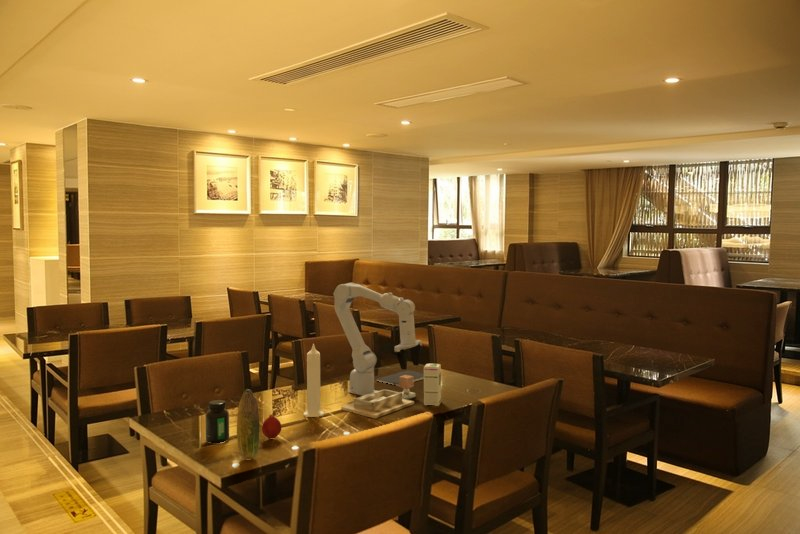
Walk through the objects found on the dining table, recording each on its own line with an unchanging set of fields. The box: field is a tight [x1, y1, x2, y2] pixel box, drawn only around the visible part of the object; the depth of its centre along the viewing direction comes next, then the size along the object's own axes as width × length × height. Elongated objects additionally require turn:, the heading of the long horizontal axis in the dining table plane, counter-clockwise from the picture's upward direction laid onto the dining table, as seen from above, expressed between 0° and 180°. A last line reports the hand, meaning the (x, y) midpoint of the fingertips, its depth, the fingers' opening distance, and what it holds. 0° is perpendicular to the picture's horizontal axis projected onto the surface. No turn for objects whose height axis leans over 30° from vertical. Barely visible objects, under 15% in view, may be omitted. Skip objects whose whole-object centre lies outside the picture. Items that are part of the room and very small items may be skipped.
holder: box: [340, 388, 415, 419], centre depth 217 cm, size 22×16×4 cm
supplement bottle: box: [204, 399, 230, 443], centre depth 182 cm, size 7×7×12 cm
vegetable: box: [236, 388, 261, 460], centre depth 167 cm, size 6×6×20 cm
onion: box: [261, 413, 282, 439], centre depth 183 cm, size 6×6×8 cm
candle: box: [303, 343, 325, 418], centre depth 207 cm, size 7×7×25 cm
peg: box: [398, 375, 416, 400], centre depth 230 cm, size 5×5×8 cm
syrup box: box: [423, 363, 442, 407], centre depth 221 cm, size 6×6×14 cm
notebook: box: [375, 369, 424, 387], centre depth 258 cm, size 13×2×21 cm
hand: (410, 367), depth 228 cm, fingers open, 7 cm apart
